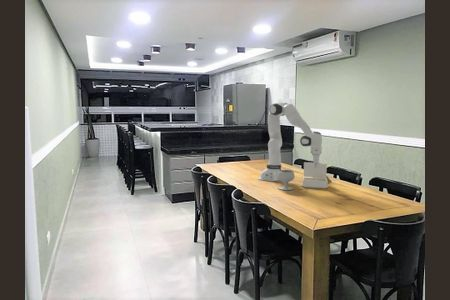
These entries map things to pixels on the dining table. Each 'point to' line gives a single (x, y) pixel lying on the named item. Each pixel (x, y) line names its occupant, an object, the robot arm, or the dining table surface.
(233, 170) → the dining table surface
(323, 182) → the mailer box
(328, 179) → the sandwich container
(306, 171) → the lid
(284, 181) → the chalice
